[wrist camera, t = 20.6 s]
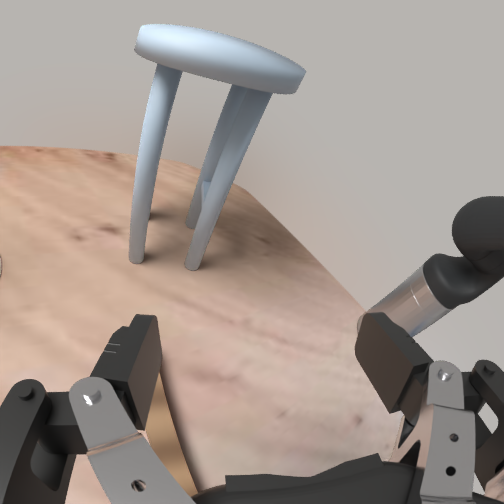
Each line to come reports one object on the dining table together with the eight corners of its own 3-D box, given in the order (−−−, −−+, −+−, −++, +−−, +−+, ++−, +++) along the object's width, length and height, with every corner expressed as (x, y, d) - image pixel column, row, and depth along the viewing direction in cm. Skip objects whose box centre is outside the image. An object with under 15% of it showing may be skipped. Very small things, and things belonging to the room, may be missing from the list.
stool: (123, 196, 47) (157, 21, 24) (214, 210, 53) (283, 53, 31) (103, 278, 36) (117, 34, 13) (221, 291, 42) (332, 91, 20)
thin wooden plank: (128, 353, 31) (127, 345, 29) (151, 351, 33) (153, 343, 30) (187, 537, 17) (192, 545, 15) (212, 531, 19) (219, 538, 17)
